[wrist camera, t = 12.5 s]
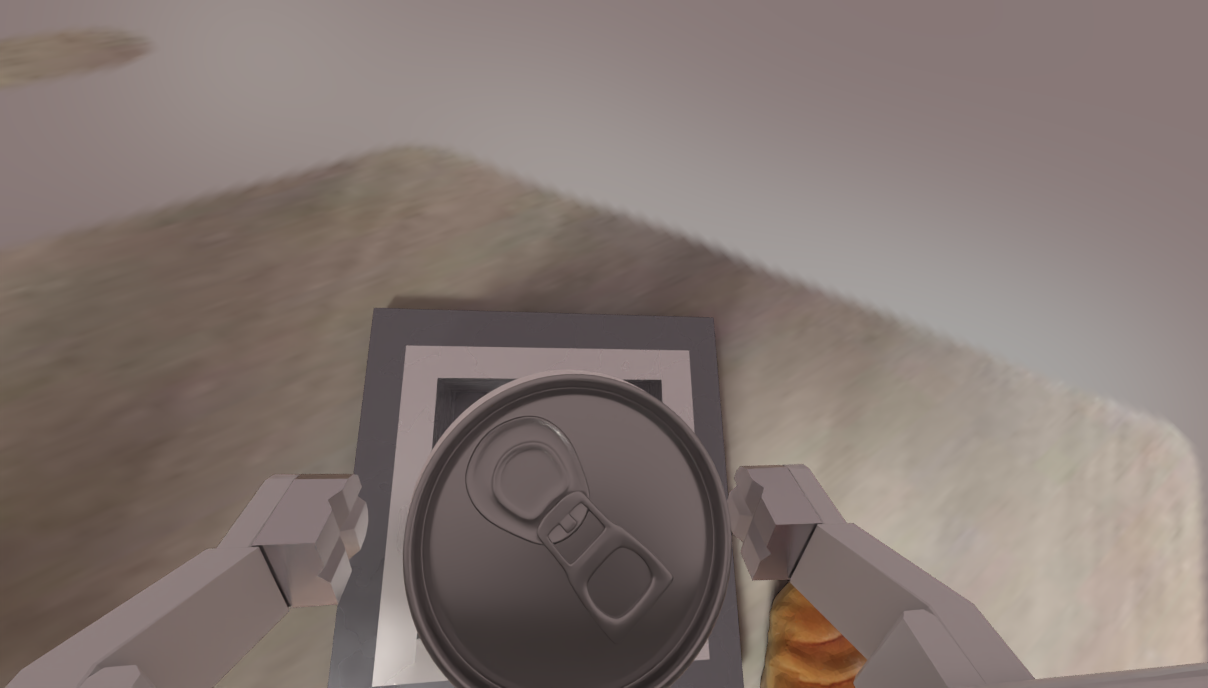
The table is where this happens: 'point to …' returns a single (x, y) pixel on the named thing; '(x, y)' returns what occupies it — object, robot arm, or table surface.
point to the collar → (440, 395)
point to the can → (567, 539)
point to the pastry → (806, 647)
